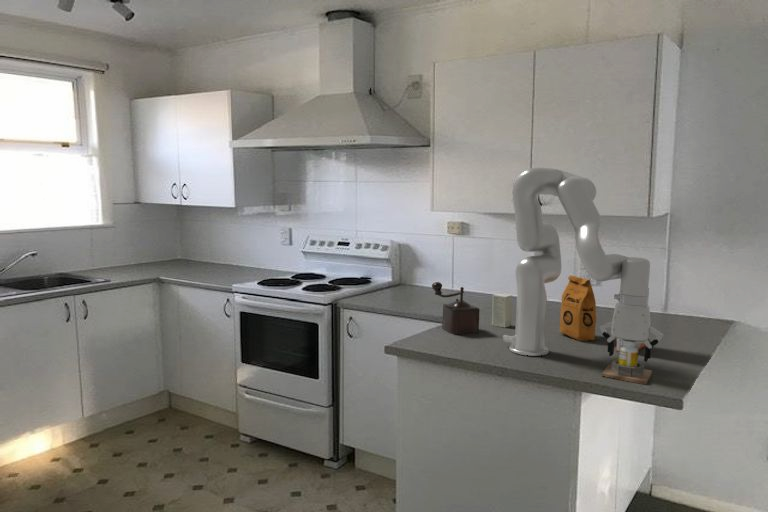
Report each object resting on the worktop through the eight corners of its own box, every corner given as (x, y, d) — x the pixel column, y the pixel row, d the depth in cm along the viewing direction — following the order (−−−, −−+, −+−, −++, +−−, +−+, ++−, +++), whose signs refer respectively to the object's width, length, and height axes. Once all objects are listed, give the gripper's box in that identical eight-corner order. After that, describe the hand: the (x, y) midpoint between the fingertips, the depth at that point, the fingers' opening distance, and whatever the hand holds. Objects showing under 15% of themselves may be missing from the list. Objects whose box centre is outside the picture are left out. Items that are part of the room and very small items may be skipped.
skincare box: (510, 326, 239) (512, 295, 237) (504, 328, 236) (506, 296, 234) (497, 323, 243) (498, 292, 241) (490, 325, 240) (492, 294, 238)
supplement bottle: (617, 373, 180) (620, 341, 179) (616, 368, 185) (618, 336, 184) (637, 375, 178) (640, 343, 177) (635, 370, 183) (638, 338, 182)
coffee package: (575, 342, 217) (579, 280, 215) (555, 333, 229) (559, 275, 226) (599, 340, 220) (603, 280, 218) (578, 332, 232) (582, 274, 229)
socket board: (601, 376, 179) (602, 365, 179) (609, 366, 190) (610, 355, 189) (646, 384, 174) (647, 372, 173) (651, 373, 184) (652, 362, 183)
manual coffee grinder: (464, 326, 237) (467, 279, 234) (479, 333, 226) (481, 284, 224) (428, 328, 231) (430, 281, 229) (441, 336, 221) (443, 286, 219)
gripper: (599, 298, 180) (595, 355, 182) (664, 306, 171) (658, 366, 173) (604, 294, 186) (600, 350, 188) (667, 302, 178) (662, 359, 180)
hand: (628, 357), depth 181 cm, fingers open, 9 cm apart
